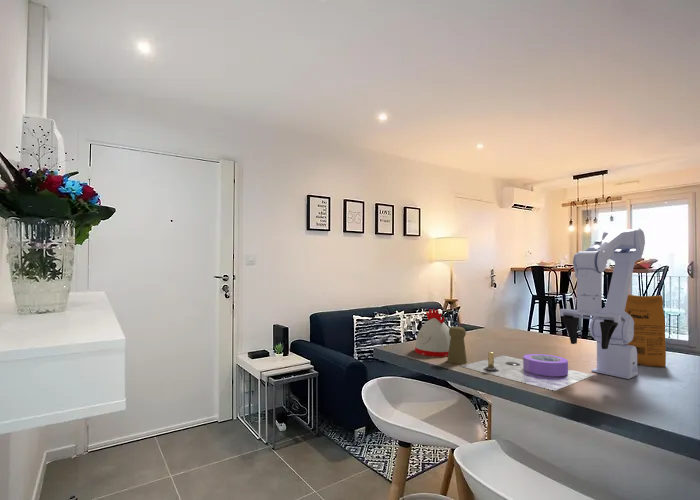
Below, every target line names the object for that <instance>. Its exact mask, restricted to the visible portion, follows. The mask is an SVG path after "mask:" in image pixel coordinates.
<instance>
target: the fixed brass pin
mask: <svg viewBox="0 0 700 500" xmlns="http://www.w3.org/2000/svg"><path fill="white" fill-rule="evenodd" d="M487 355H488V356H487V357H488V358H487V359H488V367H486V370H488V371H496V368H495V367H494V358H495V352H493V351H488V352H487Z"/></svg>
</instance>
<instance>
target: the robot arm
mask: <svg viewBox="0 0 700 500" xmlns="http://www.w3.org/2000/svg"><path fill="white" fill-rule="evenodd" d="M645 236H646V235H645V233H644V230H643V229H641V228H639V227H638V228H633V229H632V228H631V229H630V228H629V229H613V230H611V229H606V230H605V231H604V232H603V233H602V236H601V237H602V238H601V239H600V240H599V239H597V240H595V241H594V242H593V244H591V245H590V246H588V248H586V249H585V250H583V251H582V250H581V251H578V252H577V253H575V254H574V256H573V257H572V258H573V260H572V266H573V270H574V277H575V278H576V309H567V308H560V309H559V317H562V318H561V321H562V323H563V325H564V326H565V328H566V331H567V333H568V336H569V340H570V344H571V345H577V344H578V343H577V342H578V325H579V321H580V319H587V320H590V322H589V334H590V335H591V337H592V338H593V340H594V341H596V367H594V368H592V369H591V370H590V371H591V372H593V373H598V374H602V375H603V374H604V375H607V376H612V377H617V378H621V379H628V380H630V379H631V378H634V377H636V376H638V375H639V373H638V364H637V349H636V347H635V346H632V345H628V343H630V342H631V341H632V339H633V336H634V321H633V318H632V317H631V316H630V315H629V314H628V313H626V312H625V307H626V302H627V297H628V295H629V291H630V286H631V283H632V282H631V281H632V278H633V277H632V276H633V272H634V268H635V264H636V262H637V261H638V260H641V259H642V256H643V255H644V250H645V245H646V239H645V238H646V237H645ZM609 260H611V261H613V262H614V266H613V271H612V275H611V279H610V284H609V289H608V293H607V296H606V301H605V306H604V307H603V308H602V306H603V305H602V297H603V296H602V292H603V290H602V287H603V285H602V281H603V280H602V278H603V275H602V273H603V272H605V270H606V267H607V265H608V261H609Z"/></svg>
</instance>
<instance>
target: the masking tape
mask: <svg viewBox="0 0 700 500" xmlns="http://www.w3.org/2000/svg"><path fill="white" fill-rule="evenodd" d="M522 358H523V359H522V360H523V369H524V370H525V371H527V372H530V373H533V374H538V375H544V376H566V375H568V369H569V361H568V359H567V358H564V357H561V356H556V355H551V354H542V353H529V354H525V355H523V356H522Z"/></svg>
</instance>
